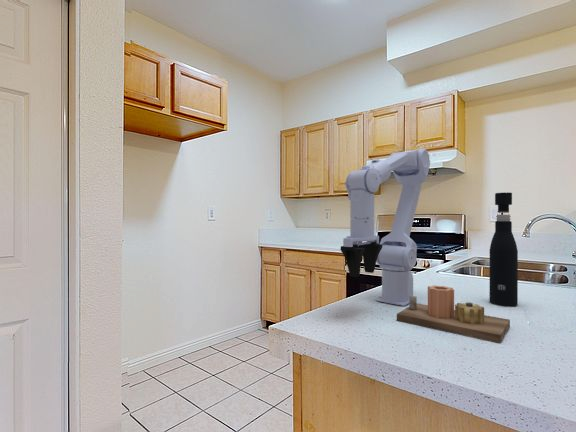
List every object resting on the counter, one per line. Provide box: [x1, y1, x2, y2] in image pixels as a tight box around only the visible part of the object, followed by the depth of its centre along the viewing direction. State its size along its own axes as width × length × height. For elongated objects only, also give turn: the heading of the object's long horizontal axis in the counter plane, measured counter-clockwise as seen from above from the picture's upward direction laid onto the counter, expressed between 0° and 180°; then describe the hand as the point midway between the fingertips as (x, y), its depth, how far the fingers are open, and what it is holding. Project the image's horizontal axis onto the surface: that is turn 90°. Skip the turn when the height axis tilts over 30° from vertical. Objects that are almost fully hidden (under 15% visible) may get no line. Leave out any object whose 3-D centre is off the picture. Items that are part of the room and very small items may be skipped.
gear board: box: [396, 295, 511, 344], centre depth 72 cm, size 12×20×5 cm, turn 49°
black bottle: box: [488, 192, 519, 308], centre depth 88 cm, size 6×6×30 cm
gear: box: [427, 284, 455, 318], centre depth 74 cm, size 5×5×6 cm
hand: (362, 274), depth 80 cm, fingers open, 7 cm apart
